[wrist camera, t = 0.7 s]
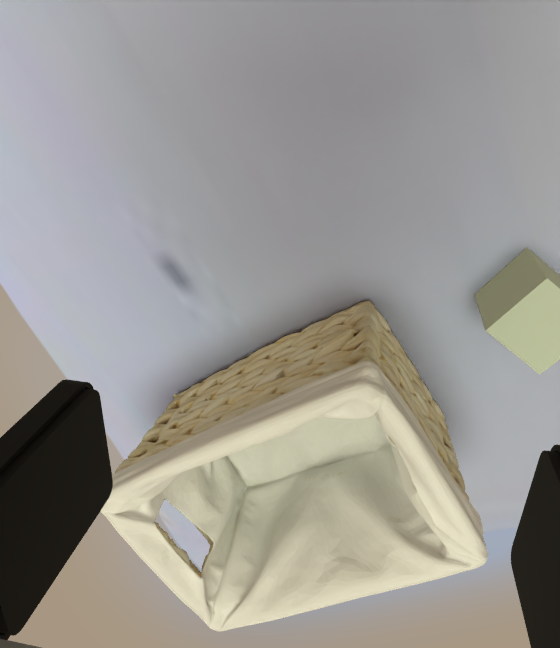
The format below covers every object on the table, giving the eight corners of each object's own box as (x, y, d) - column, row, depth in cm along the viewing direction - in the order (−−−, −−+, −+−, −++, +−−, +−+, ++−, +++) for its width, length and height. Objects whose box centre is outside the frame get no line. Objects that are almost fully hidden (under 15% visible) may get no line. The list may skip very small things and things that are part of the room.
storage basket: (382, 276, 41) (375, 378, 28) (472, 428, 46) (501, 575, 33) (161, 388, 51) (80, 502, 38) (254, 504, 55) (210, 640, 42)
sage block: (526, 247, 38) (547, 278, 33) (576, 289, 39) (603, 326, 33) (474, 294, 40) (485, 330, 35) (521, 333, 41) (539, 374, 36)
